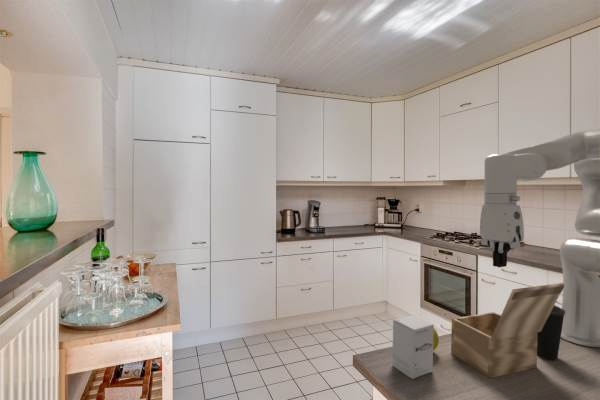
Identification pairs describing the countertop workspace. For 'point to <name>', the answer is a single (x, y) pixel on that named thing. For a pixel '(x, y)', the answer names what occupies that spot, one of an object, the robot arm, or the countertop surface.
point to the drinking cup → (551, 335)
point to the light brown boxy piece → (491, 346)
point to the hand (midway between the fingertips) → (499, 266)
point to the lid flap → (527, 310)
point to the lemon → (435, 339)
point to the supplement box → (413, 346)
